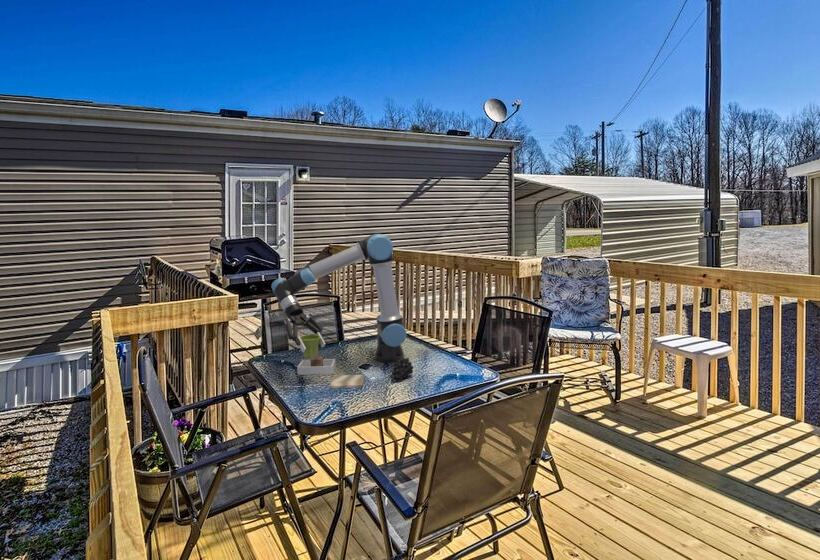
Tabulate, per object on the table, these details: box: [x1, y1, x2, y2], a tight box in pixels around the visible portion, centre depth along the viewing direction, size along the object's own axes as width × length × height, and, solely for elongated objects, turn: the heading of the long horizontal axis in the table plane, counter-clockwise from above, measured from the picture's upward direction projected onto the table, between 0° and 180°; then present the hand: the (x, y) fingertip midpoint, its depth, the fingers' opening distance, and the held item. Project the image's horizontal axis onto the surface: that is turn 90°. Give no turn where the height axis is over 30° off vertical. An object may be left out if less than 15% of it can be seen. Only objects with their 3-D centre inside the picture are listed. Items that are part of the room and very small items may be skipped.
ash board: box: [329, 374, 366, 389], centre depth 217 cm, size 14×14×1 cm
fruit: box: [389, 357, 414, 382], centre depth 221 cm, size 9×8×15 cm
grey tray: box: [297, 358, 337, 376], centre depth 232 cm, size 16×12×4 cm
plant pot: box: [300, 334, 320, 359], centre depth 215 cm, size 9×9×9 cm
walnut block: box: [309, 356, 324, 367], centre depth 232 cm, size 5×5×6 cm
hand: (314, 347), depth 213 cm, fingers closed on plant pot, 9 cm apart
